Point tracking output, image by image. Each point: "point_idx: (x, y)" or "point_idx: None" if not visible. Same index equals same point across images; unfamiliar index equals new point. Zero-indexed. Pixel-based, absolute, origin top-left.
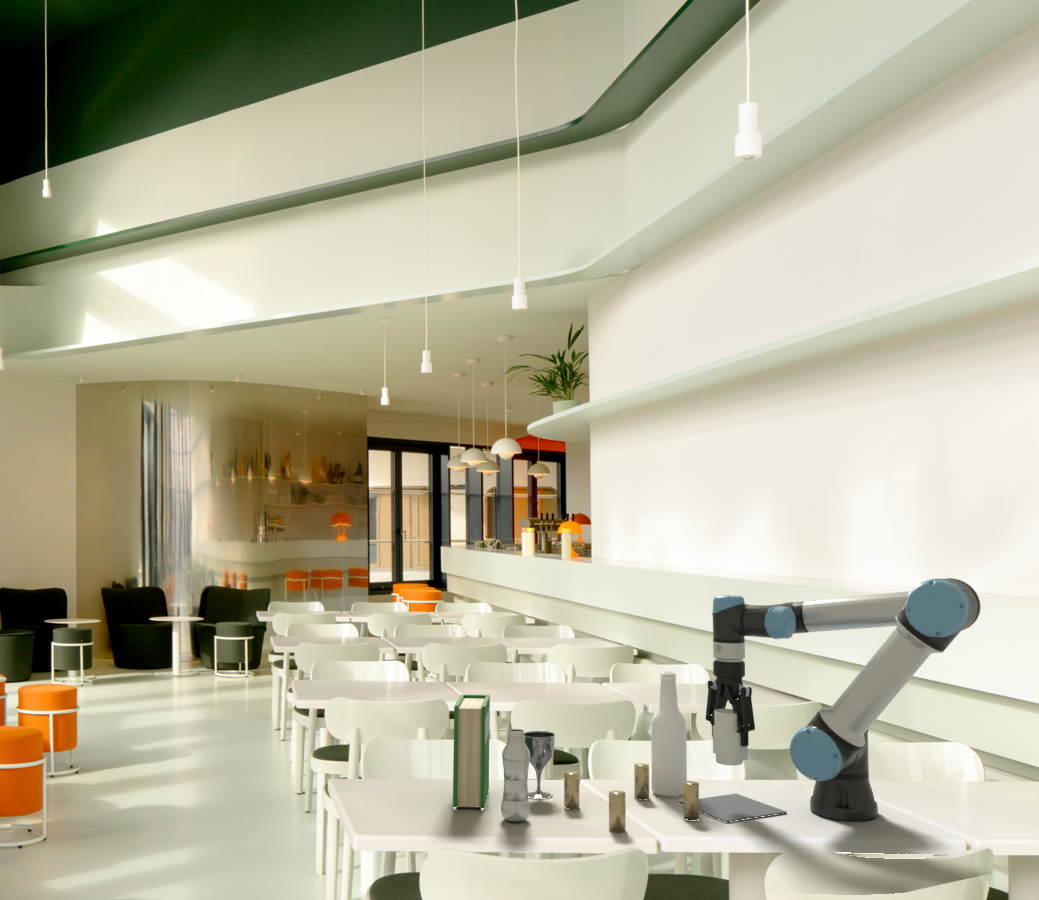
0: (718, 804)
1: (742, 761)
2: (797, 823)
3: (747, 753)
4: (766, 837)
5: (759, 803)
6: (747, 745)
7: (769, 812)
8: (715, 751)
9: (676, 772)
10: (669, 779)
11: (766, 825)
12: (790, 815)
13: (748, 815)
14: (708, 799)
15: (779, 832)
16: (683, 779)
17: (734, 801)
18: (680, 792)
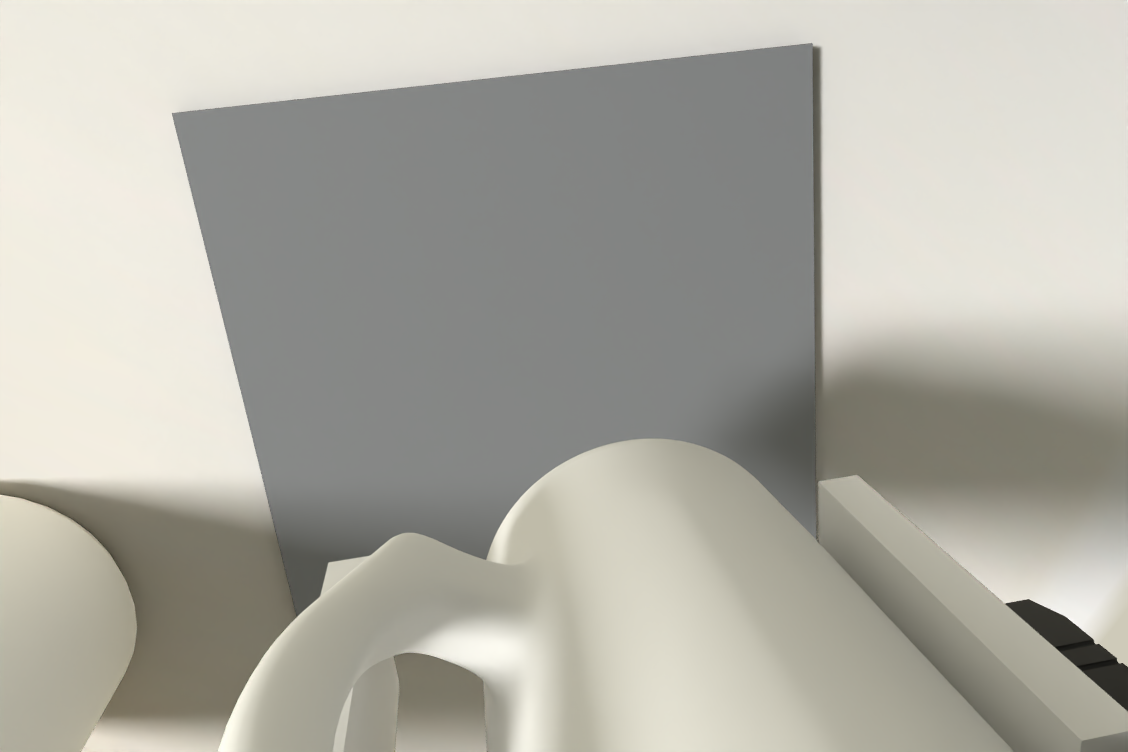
0: (461, 439)
1: (758, 481)
2: (1016, 128)
3: (897, 510)
4: (1115, 485)
5: (535, 110)
6: (1039, 617)
7: (779, 194)
8: (396, 692)
9: (65, 738)
10: (83, 746)
11: (951, 359)
12: (848, 41)
13: (778, 383)
14: (309, 443)
15: (1090, 364)
16: (67, 622)
17: (419, 278)
18: (126, 594)
